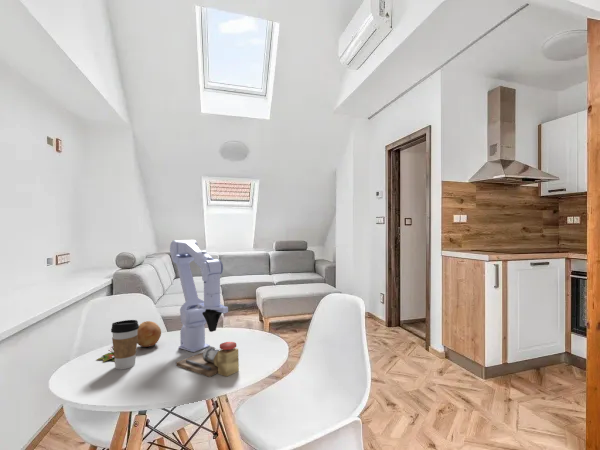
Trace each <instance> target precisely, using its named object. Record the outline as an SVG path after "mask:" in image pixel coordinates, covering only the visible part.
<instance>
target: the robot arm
mask: <svg viewBox="0 0 600 450" xmlns="http://www.w3.org/2000/svg"><path fill="white" fill-rule="evenodd" d="M198 245H199V244H198V241H197V240H195V239H181V240H178V239H177V240H176V239H173V240H172V241H171V242H170V245H169V253H170V257H171V260H172V263H174V264H175V265H176V267H177V272H178V276H179V279H180V280H179V281H180V285H181V287H182V293H183V297H184V303H183V304H182V305H181V306H180V309H179V313H180V314H179V317H180V322H181V324H182V326H181V329H180V337H179V338H180V340H179V341H180V346H178V348H179V349H182V350H185V351H188V352H191V353H195V352H198V351H200V350H204V349H206V348H207V347H209V346H211V345H210V344H208V343H206V331H205V330H206V327H205V326H206V324H207V328H208V332H211V333H213V332H216V331H217V328H218V322H219V320H220V318H221V316H222V314H227V313H229V307H228V306H227V305H226V306H225V305H223V304H221V275H222V274H223V272H224V271H223V270H224V265H223V262H222V260H221V259H220V258H215V259H214V257H212V256H211V255H210V254H209V253H208V252H207V251H206V250H201V249H200V248H199V246H198ZM192 262H194V264H196V266H198V268H200V274H201V279H202V282H203V299H201V298H199V296H198V292H197V291H198V290H197V288H196V285H195V280H194V277H193V273H192V269H191V265H190V263H192Z"/></svg>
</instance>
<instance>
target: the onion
mask: <svg viewBox="0 0 600 450" xmlns="http://www.w3.org/2000/svg"><path fill="white" fill-rule="evenodd" d="M138 325H139V328H138V331H137V334H138V338H137V346H140V347H142V348H148V347H153V346H155V345H156V344H157V343H158V342H159V340H160V338H161V336H162V329H161V327H160V326H159V324H157V323H156V322H154V321H150V320H148V321H143V322H142V323H140V324H138Z"/></svg>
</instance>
